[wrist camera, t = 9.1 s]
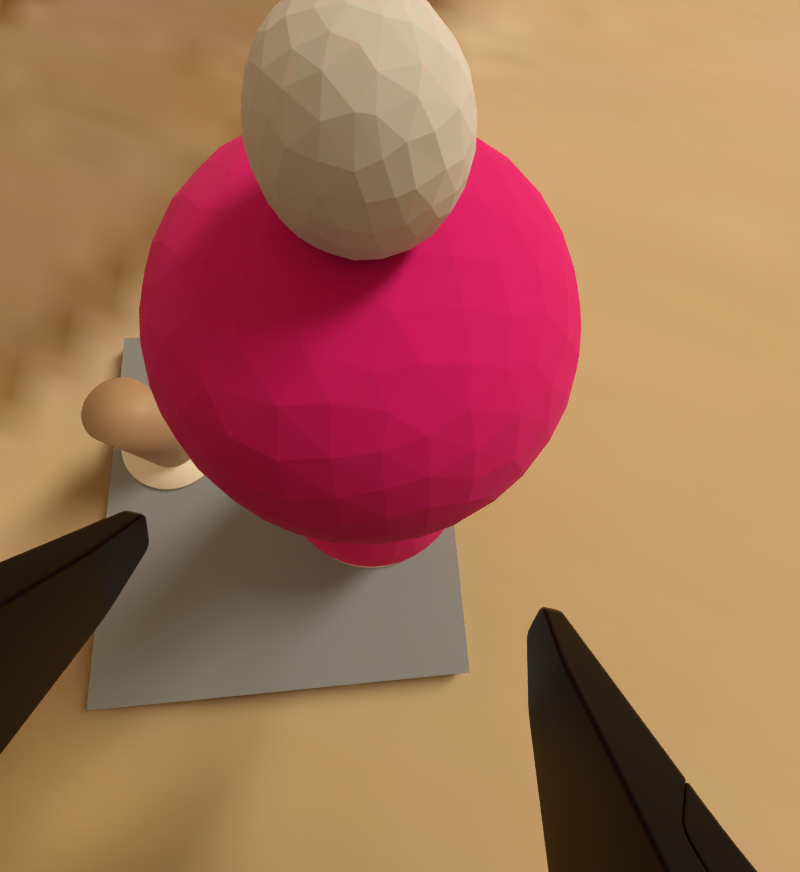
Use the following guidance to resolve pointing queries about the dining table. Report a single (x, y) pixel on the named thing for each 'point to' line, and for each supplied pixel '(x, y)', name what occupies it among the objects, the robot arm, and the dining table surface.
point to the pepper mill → (360, 291)
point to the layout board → (247, 584)
